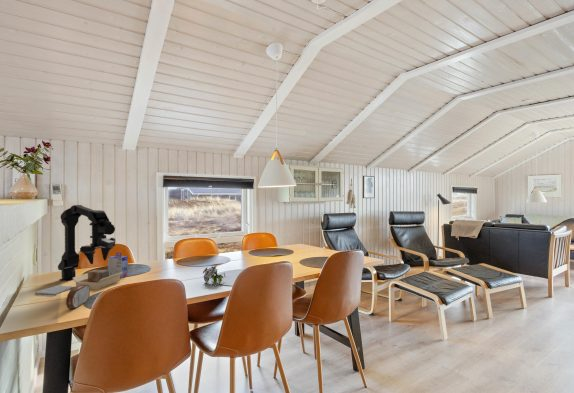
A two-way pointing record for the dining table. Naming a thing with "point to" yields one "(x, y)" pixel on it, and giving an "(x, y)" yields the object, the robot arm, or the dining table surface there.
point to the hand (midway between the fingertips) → (98, 262)
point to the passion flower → (212, 275)
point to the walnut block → (97, 275)
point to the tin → (77, 296)
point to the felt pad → (54, 290)
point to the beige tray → (103, 282)
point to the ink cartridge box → (118, 265)
